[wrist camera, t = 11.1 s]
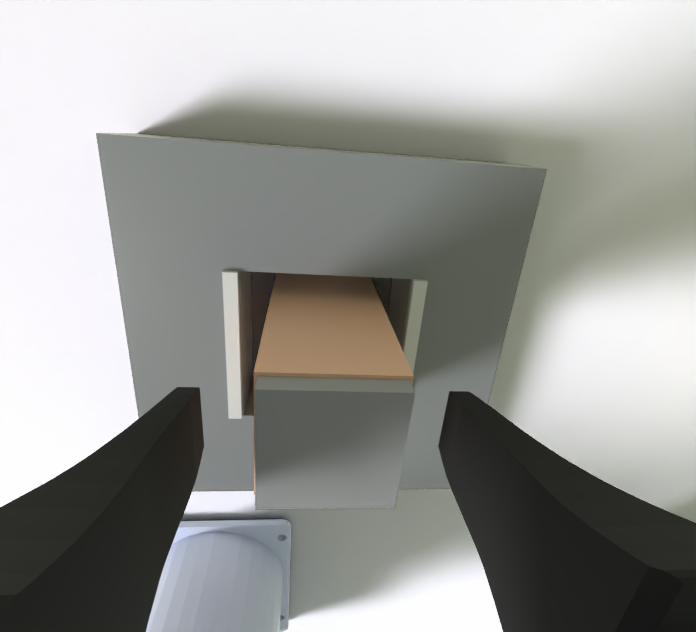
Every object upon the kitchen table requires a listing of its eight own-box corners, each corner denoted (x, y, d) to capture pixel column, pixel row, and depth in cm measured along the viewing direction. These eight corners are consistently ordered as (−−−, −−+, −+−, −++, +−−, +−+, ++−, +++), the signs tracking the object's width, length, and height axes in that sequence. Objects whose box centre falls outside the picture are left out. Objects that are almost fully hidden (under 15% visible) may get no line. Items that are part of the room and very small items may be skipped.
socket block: (446, 444, 22) (467, 491, 19) (171, 443, 20) (148, 495, 17) (506, 163, 16) (550, 169, 13) (135, 133, 15) (92, 133, 12)
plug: (361, 358, 19) (397, 510, 12) (275, 355, 19) (251, 512, 11) (370, 277, 18) (419, 389, 10) (276, 272, 17) (250, 385, 9)
